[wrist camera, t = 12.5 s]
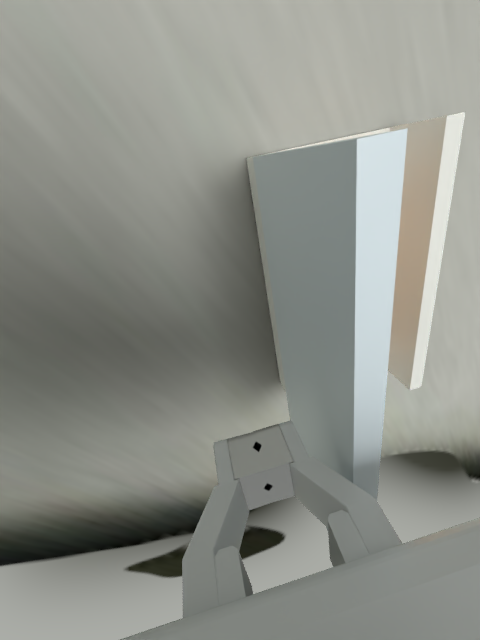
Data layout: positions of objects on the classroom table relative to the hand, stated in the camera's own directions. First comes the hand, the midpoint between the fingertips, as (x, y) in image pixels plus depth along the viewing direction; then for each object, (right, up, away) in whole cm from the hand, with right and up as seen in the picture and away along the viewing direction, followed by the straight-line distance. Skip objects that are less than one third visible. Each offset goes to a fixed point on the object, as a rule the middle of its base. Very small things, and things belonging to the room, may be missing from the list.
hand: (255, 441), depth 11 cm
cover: (+3, +2, +2) cm, 4 cm away
